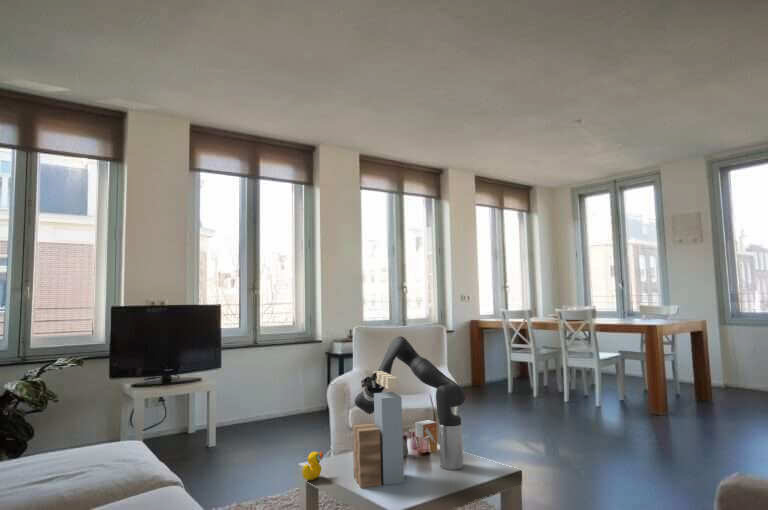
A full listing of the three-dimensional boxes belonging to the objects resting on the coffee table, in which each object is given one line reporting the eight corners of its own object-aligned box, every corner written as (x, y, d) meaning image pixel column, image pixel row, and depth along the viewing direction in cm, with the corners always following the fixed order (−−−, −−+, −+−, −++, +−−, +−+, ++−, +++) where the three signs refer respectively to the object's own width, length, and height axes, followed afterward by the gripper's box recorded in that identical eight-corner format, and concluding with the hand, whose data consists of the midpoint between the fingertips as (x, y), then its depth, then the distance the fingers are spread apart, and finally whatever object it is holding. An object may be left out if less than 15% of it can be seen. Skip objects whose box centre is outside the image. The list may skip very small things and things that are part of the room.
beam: (373, 381, 212) (373, 371, 212) (382, 380, 213) (382, 370, 213) (387, 389, 191) (387, 378, 191) (397, 388, 192) (397, 377, 192)
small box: (424, 454, 226) (423, 424, 227) (415, 451, 231) (414, 422, 232) (437, 451, 230) (436, 421, 232) (429, 447, 236) (428, 419, 237)
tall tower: (375, 474, 200) (373, 393, 203) (394, 472, 202) (392, 391, 205) (383, 485, 188) (381, 398, 192) (403, 482, 191) (401, 396, 194)
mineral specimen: (390, 451, 230) (393, 433, 230) (408, 456, 227) (411, 438, 227) (385, 455, 223) (389, 437, 223) (403, 460, 220) (407, 442, 220)
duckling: (316, 473, 204) (316, 447, 205) (327, 475, 201) (327, 449, 202) (298, 482, 194) (298, 455, 195) (309, 484, 192) (309, 457, 193)
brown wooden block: (353, 477, 198) (352, 424, 200) (373, 475, 200) (372, 422, 202) (360, 488, 186) (359, 431, 188) (381, 485, 188) (379, 429, 190)
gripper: (356, 382, 221) (363, 366, 207) (387, 380, 225) (395, 364, 211) (358, 399, 217) (365, 384, 203) (389, 396, 220) (399, 381, 207)
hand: (381, 374), depth 207 cm, fingers closed on beam, 4 cm apart
